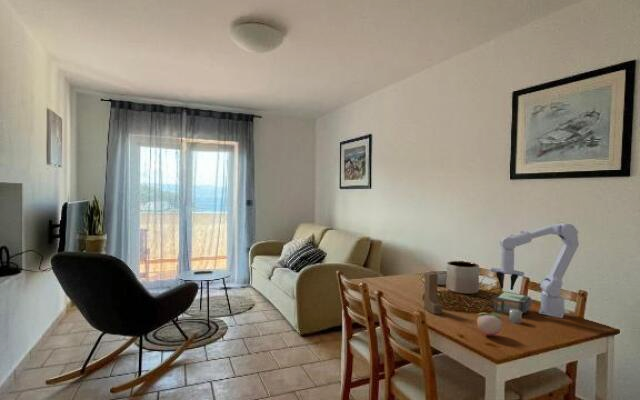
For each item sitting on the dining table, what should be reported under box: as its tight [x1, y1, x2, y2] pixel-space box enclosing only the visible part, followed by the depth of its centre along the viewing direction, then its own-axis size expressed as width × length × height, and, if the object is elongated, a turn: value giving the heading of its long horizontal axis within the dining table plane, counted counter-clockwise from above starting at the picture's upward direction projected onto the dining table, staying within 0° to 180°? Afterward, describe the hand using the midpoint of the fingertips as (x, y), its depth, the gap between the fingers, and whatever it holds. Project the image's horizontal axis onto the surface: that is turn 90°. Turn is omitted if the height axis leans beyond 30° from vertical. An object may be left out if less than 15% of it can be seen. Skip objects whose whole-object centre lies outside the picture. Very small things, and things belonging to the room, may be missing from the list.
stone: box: [508, 309, 523, 325], centre depth 158 cm, size 5×5×5 cm
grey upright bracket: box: [423, 271, 443, 315], centre depth 170 cm, size 9×4×18 cm, turn 14°
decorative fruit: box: [476, 310, 504, 337], centre depth 141 cm, size 9×8×10 cm
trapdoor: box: [497, 291, 532, 313], centre depth 171 cm, size 12×12×5 cm
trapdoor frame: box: [493, 290, 528, 316], centre depth 172 cm, size 11×15×7 cm
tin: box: [430, 270, 447, 286], centre depth 219 cm, size 15×3×8 cm, turn 84°
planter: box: [445, 260, 480, 295], centre depth 207 cm, size 18×18×16 cm
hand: (506, 288), depth 174 cm, fingers open, 4 cm apart
